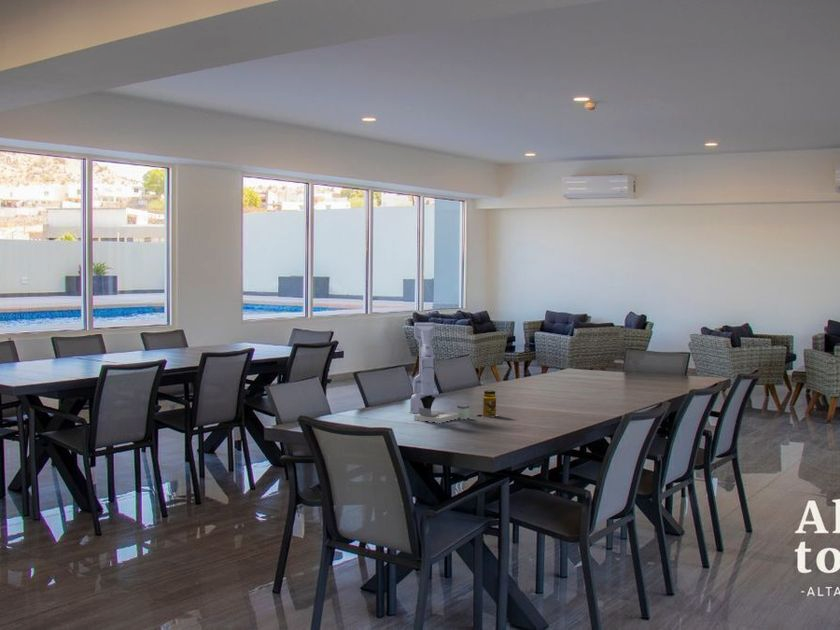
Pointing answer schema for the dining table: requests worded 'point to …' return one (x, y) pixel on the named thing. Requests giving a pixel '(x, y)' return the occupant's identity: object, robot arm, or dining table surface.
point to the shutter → (427, 412)
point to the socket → (437, 417)
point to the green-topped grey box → (463, 411)
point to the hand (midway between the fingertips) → (427, 412)
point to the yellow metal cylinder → (489, 404)
